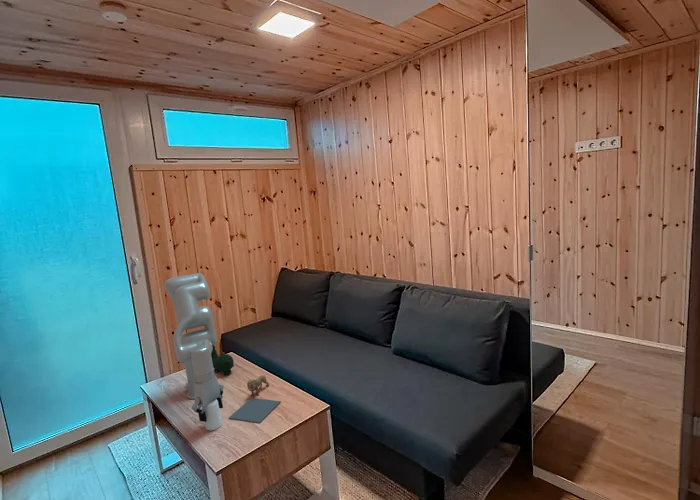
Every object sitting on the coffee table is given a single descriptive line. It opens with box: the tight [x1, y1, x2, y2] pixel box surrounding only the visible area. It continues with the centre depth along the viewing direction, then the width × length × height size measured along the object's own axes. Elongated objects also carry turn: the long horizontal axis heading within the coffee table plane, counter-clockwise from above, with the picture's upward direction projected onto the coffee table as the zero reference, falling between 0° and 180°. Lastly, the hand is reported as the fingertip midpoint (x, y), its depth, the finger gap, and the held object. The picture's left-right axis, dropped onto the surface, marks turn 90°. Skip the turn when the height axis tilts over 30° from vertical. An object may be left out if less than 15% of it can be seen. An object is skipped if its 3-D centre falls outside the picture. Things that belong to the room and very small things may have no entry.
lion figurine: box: [246, 374, 270, 397], centre depth 183 cm, size 15×5×9 cm, turn 164°
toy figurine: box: [211, 345, 235, 376], centre depth 210 cm, size 9×19×25 cm
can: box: [201, 399, 223, 432], centre depth 158 cm, size 6×6×12 cm
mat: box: [228, 397, 282, 424], centre depth 167 cm, size 16×16×1 cm
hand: (211, 414), depth 158 cm, fingers open, 9 cm apart
